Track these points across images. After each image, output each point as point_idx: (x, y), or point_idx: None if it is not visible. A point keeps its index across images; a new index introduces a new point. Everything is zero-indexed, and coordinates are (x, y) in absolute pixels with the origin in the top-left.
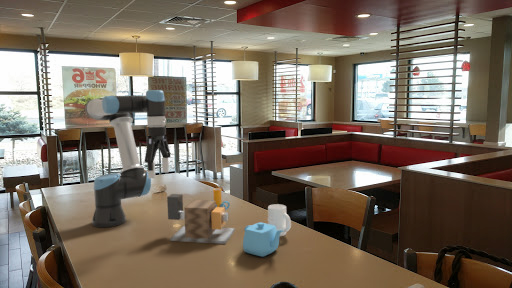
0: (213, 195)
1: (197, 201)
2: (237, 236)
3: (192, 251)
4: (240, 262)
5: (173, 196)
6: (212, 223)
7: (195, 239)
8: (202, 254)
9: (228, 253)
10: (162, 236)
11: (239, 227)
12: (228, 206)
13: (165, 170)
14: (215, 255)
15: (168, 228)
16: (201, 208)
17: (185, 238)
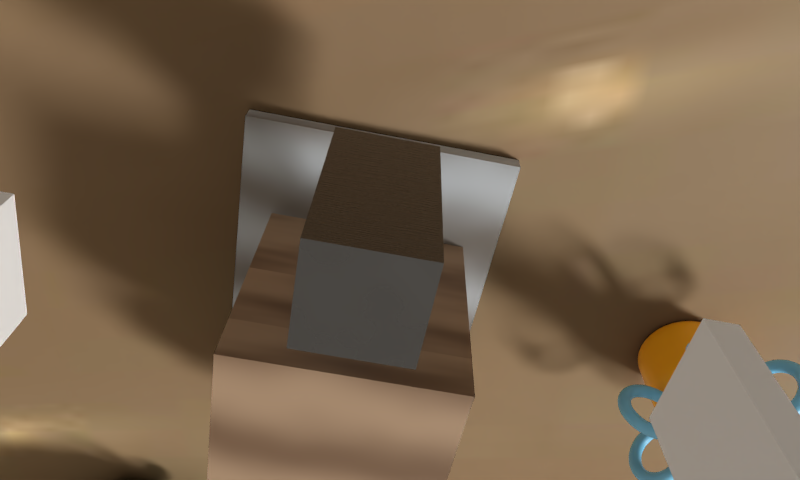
0: None
1: (414, 425)
2: None
3: (97, 267)
4: (25, 457)
5: (324, 299)
6: None
7: (239, 275)
8: (69, 317)
9: (109, 418)
10: (332, 31)
11: (483, 456)
12: None
13: (690, 400)
14: (72, 371)
15: (520, 38)
16: (209, 463)
17: (251, 216)
